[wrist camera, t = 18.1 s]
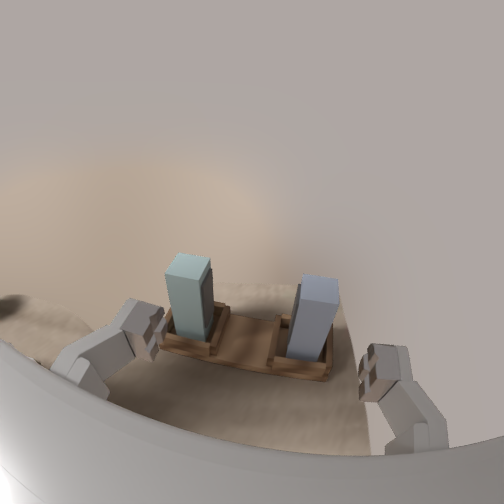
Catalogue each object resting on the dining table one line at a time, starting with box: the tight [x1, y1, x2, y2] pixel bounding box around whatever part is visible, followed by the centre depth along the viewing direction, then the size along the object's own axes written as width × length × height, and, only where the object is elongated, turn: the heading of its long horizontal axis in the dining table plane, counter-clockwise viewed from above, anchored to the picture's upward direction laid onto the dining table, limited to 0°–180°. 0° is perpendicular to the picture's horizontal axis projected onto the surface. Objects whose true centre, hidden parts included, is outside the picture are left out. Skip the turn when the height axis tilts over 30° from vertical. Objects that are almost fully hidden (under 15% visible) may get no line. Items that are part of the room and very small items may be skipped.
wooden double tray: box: [159, 301, 333, 382], centre depth 46 cm, size 28×10×4 cm, turn 79°
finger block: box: [286, 274, 339, 362], centre depth 41 cm, size 5×5×14 cm
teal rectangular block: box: [165, 253, 214, 342], centre depth 43 cm, size 5×5×14 cm
